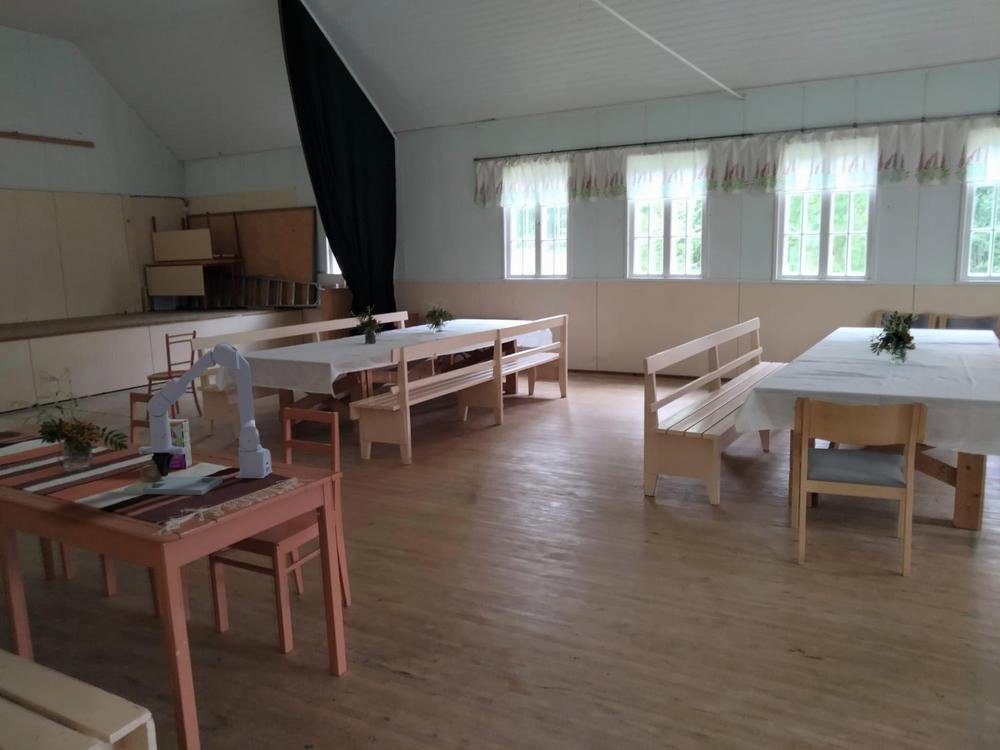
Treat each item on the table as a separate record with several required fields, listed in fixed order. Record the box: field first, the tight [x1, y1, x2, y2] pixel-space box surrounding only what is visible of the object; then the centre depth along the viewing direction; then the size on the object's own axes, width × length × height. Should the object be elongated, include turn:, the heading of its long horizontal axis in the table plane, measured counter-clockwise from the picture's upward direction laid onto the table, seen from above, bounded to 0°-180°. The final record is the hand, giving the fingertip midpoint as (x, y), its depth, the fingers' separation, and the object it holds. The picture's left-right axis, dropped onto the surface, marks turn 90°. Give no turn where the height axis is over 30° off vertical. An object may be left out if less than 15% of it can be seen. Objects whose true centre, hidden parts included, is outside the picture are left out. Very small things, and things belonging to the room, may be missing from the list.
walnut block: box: [139, 464, 162, 483], centre depth 234 cm, size 4×4×4 cm
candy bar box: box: [153, 418, 193, 470], centre depth 254 cm, size 11×5×16 cm, turn 89°
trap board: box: [123, 475, 224, 496], centre depth 231 cm, size 25×13×2 cm, turn 83°
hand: (164, 475), depth 235 cm, fingers closed
